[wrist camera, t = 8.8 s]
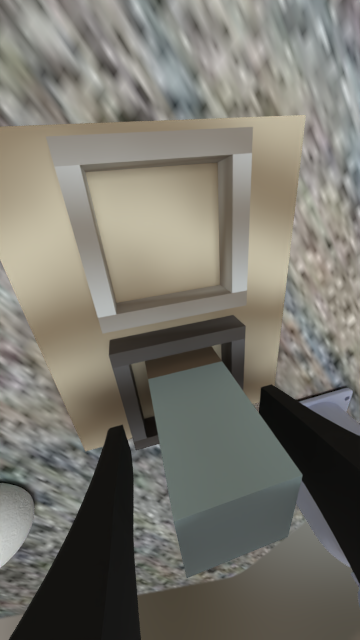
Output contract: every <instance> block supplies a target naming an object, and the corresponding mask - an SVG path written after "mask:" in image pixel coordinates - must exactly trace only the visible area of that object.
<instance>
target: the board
mask: <svg viewBox="0 0 360 640" xmlns="http://www.w3.org/2000/svg"><path fill="white" fill-rule="evenodd" d="M305 118H306V115H296V116H270V117H243V118H217V119H191V120H164V121H138V122H112V123H85V124H59V125H33V126H7V127H0V260H1V263H2V265H3V267H4V269H5V272H6V274H7V276H8V278H9V281H10V283H11V285H12V287H13V290H14V292H15V294H16V296H17V299H18V301H19V303H20V305H21V308H22V310H23V312H24V314H25V316H26V319H27V321H28V323H29V325H30V328H31V330H32V332H33V334H34V337H35V339H36V341H37V343H38V346H39V348H40V350H41V352H42V355H43V357H44V359H45V361H46V364H47V366H48V368H49V370H50V373H51V375H52V377H53V379H54V382H55V384H56V386H57V388H58V391H59V393H60V395H61V397H62V400H63V402H64V404H65V406H66V409H67V411H68V413H69V415H70V418H71V420H72V422H73V424H74V427H75V429H76V431H77V433H78V436H79V438H80V440H81V442H82V445H83V447H84V449H85V451H88V450H92V449H96V448H99V447H103V446H104V443H105V439H106V435H107V431H108V429H109V428H112V427H115V426H119V425H123V427H124V430H125V434H126V437H127V439H131V438H133V442H134V445H135V449H136V450H139V449H143V448H146V447H149V446H153V445H156V444H160V442H159V437H158V431H157V426H156V420H155V415H154V409H153V404H152V398H151V393H150V387H149V382H148V376H147V371H146V365H145V361H148V360H152V359H157V358H161V357H165V356H170V355H174V354H179V353H183V352H188V351H192V350H197V349H201V348H206V347H210V346H212V348H213V349H214V351H215V352H216V353H217V355H218V356H219V358H220V359H221V360H222V362H223V363H224V365H225V366H226V367H227V369H228V370H229V372H230V373H231V375H232V376H233V377H234V379H235V380H236V382H237V383H238V384H239V386H240V387H241V389H242V390H243V391H244V393H245V394H246V396H247V397H248V399H249V400H250V401H251V403H252V404H255V403H259V402H260V393H261V387H264V386H267V385H271V384H272V385H273V386H274V385H275V376H276V368H277V359H278V350H279V342H280V333H281V325H282V316H283V307H284V299H285V290H286V281H287V273H288V264H289V256H290V247H291V238H292V230H293V221H294V212H295V204H296V195H297V187H298V178H299V169H300V161H301V152H302V144H303V135H304V126H305Z"/></svg>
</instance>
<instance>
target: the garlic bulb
mask: <svg viewBox="0 0 360 640" xmlns="http://www.w3.org/2000/svg"><path fill="white" fill-rule="evenodd" d="M34 510H35V509H34V502H33V500H32V497H31V496H30V494H29V493H28V492H27V491H25V490H24V489H23V488H21V487H18V486H16V485H12V484H7V483H0V567H2V566H3V565H4V564H5V563H6V562H7V561H8V560H9V559H10V558H11V557H12V556H13V555H14V554H15V553H16V552H17V551H18V550H19V548H20V547H21V545H22V544H23V542H24V541H25V539H26V537H27V535H28V533H29V531H30V528H31V525H32V522H33V518H34Z"/></svg>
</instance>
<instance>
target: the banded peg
mask: <svg viewBox="0 0 360 640" xmlns="http://www.w3.org/2000/svg"><path fill="white" fill-rule="evenodd" d="M145 365H146V371H147V376H148V382H149V387H150V393H151V398H152V404H153V409H154V415H155V420H156V426H157V431H158V437H159V442H160V448H161V454H162V459H163V465H164V470H165V476H166V481H167V487H168V492H169V498H170V503H171V509H172V514H173V520H174V525H175V529H176V533H177V538H178V542H179V546H180V551H181V555H182V559H183V564H184V568H185V572H186V577H187V578H188V577H191V576H193V575H196V574H198V573H201V572H203V571H205V570H208V569H210V568H213V567H215V566H218V565H220V564H223V563H225V562H227V561H230V560H232V559H235V558H237V557H240V556H242V555H245V554H247V553H249V552H252V551H254V550H257V549H259V548H262V547H264V546H267V545H269V544H271V543H274V542H276V541H279V540H281V539H284V538H286V537H288V534H289V530H290V526H291V522H292V518H293V513H294V509H295V505H296V501H297V497H298V492H299V488H300V484H301V480H302V476H303V475H302V473H301V472H300V471H299V469H298V468H297V466H296V465H295V464H294V462H293V461H292V459H291V458H290V456H289V455H288V454H287V452H286V451H285V449H284V448H283V447H282V445H281V444H280V442H279V441H278V440H277V438H276V437H275V435H274V434H273V432H272V431H271V430H270V428H269V427H268V425H267V424H266V423H265V421H264V420H263V418H262V417H261V415H260V414H259V413H258V411H257V410H256V408H255V407H254V406H253V404H252V403H251V401H250V400H249V399H248V397H247V396H246V394H245V393H244V391H243V390H242V389H241V387H240V386H239V384H238V383H237V382H236V380H235V379H234V377H233V376H232V375H231V373H230V372H229V370H228V369H227V367H226V366H225V365H224V363H223V362H222V360H221V359H220V358H219V356H218V355H217V353H216V352H215V351H214V349H213V348H212V346H210V347H206V348H201V349H197V350H192V351H188V352H183V353H179V354H174V355H170V356H165V357H161V358H157V359H152V360H148V361H145Z"/></svg>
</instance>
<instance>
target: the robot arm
mask: <svg viewBox="0 0 360 640" xmlns="http://www.w3.org/2000/svg"><path fill="white" fill-rule="evenodd" d="M352 393H353V391H352V390H351V389H350V388H344V389H340V390H337V391H333V392H330V393H327V394H323V395H320V396H316V397H313V398H309V399H306V400H303V401H299V402H298V401H297V400H295V399H293V398H292V397H290V396H289V395H287V394H286V393H284V392H283V391H281V390H279V389H278V388H276V387H275V386H273V385H272V384H271V385H267V386H264V387H261V393H260V405H259V414H260V415H261V417H262V418H263V420H264V421H265V423H266V424H267V425H268V427H269V428H270V430H271V431H272V432H273V434H274V435H275V437H276V438H277V440H278V441H279V442H280V444H281V445H282V447H283V448H284V449H285V451H286V452H287V454H288V455H289V456H290V458H291V459H292V461H293V462H294V464H295V465H296V466H297V468H298V469H299V471H300V472H301V473H302V475H303V476H302V480H301V484H300V488H299V492H298V497H297V501H296V504H297V506H298V507H299V509H300V511H301V512H302V514H303V516H304V517H305V519H306V520H307V522H308V524H309V525H310V527H311V529H312V530H313V532H314V533H315V535H316V537H317V538H318V539H319V541H320V542H321V543H322V544H323V546H324V547H325V548H326V549H327V550H328V551H329V552H330V553H331V554H332V555H333V556H334V557H335V558H337V559H338V560H339V561H341V562H342V563H344V564H345V565H347V566H349V567H351V568H352V570H353V572H352V573H351V576H352V577H353V579H354V580H355V582H356V583H357V585H358V587H359V591H358V601H359V606H360V424H359V423H358V422H357V421H356V420H355V419H353V418H352V417H351V416H350V415H349V414H348V413H347V409H348V406H349V403H350V400H351V397H352ZM9 640H141V636H140V625H139V613H138V600H137V587H136V574H135V560H134V541H133V466H132V456H131V450H130V447H129V443H128V440H127V437H126V434H125V430H124V427H123V425H119V426H115V427H112V428H109V429H108V431H107V435H106V439H105V443H104V446H103V449H102V452H101V455H100V458H99V461H98V464H97V467H96V470H95V472H94V475H93V478H92V480H91V483H90V485H89V488H88V490H87V493H86V495H85V497H84V500H83V502H82V505H81V507H80V509H79V511H78V514H77V516H76V518H75V520H74V522H73V524H72V527H71V529H70V531H69V533H68V535H67V537H66V539H65V541H64V543H63V545H62V547H61V549H60V551H59V552H58V554H57V556H56V558H55V560H54V562H53V564H52V566H51V568H50V570H49V571H48V573H47V575H46V577H45V579H44V581H43V582H42V584H41V586H40V588H39V589H38V591H37V593H36V594H35V596H34V598H33V600H32V601H31V603H30V605H29V606H28V608H27V610H26V612H25V613H24V615H23V617H22V619H21V620H20V622H19V624H18V625H17V627H16V629H15V630H14V632H13V634H12V635H11V637H10V639H9Z"/></svg>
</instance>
